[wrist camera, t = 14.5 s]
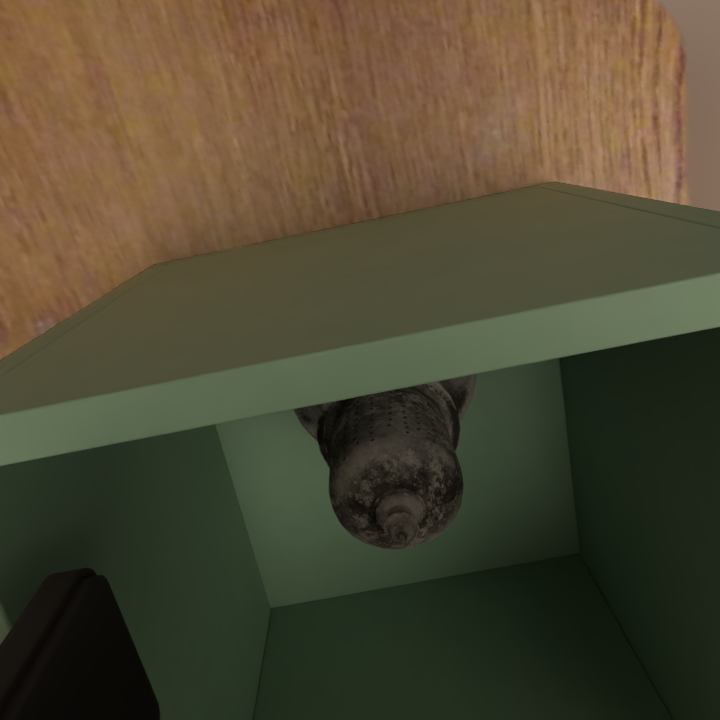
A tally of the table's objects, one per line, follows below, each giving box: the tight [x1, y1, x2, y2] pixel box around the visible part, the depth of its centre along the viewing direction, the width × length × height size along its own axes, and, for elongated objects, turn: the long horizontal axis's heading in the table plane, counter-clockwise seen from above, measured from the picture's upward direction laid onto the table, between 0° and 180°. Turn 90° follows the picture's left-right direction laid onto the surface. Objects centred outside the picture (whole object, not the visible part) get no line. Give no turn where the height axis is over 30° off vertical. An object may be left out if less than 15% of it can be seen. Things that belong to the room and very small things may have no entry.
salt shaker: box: [293, 374, 476, 550], centre depth 17 cm, size 6×6×12 cm
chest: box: [0, 182, 720, 720], centre depth 18 cm, size 16×15×14 cm
